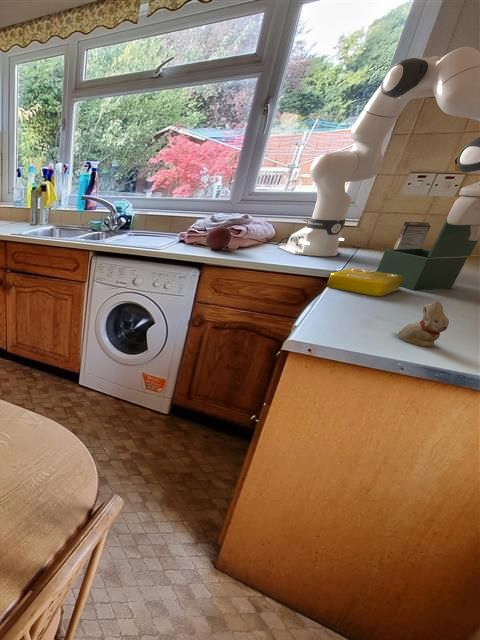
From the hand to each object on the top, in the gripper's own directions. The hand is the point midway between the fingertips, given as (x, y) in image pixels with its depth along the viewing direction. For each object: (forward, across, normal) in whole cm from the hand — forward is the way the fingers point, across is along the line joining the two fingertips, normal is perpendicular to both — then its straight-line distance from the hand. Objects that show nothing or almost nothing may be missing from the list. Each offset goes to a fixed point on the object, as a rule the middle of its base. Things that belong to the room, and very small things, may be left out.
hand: (476, 240), depth 125 cm
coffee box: (+16, -12, -30) cm, 37 cm away
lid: (-2, 0, -5) cm, 6 cm away
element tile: (+16, +20, -9) cm, 27 cm away
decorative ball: (+16, +30, -76) cm, 84 cm away
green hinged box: (+16, 0, -12) cm, 20 cm away
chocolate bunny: (+16, +44, +34) cm, 57 cm away
